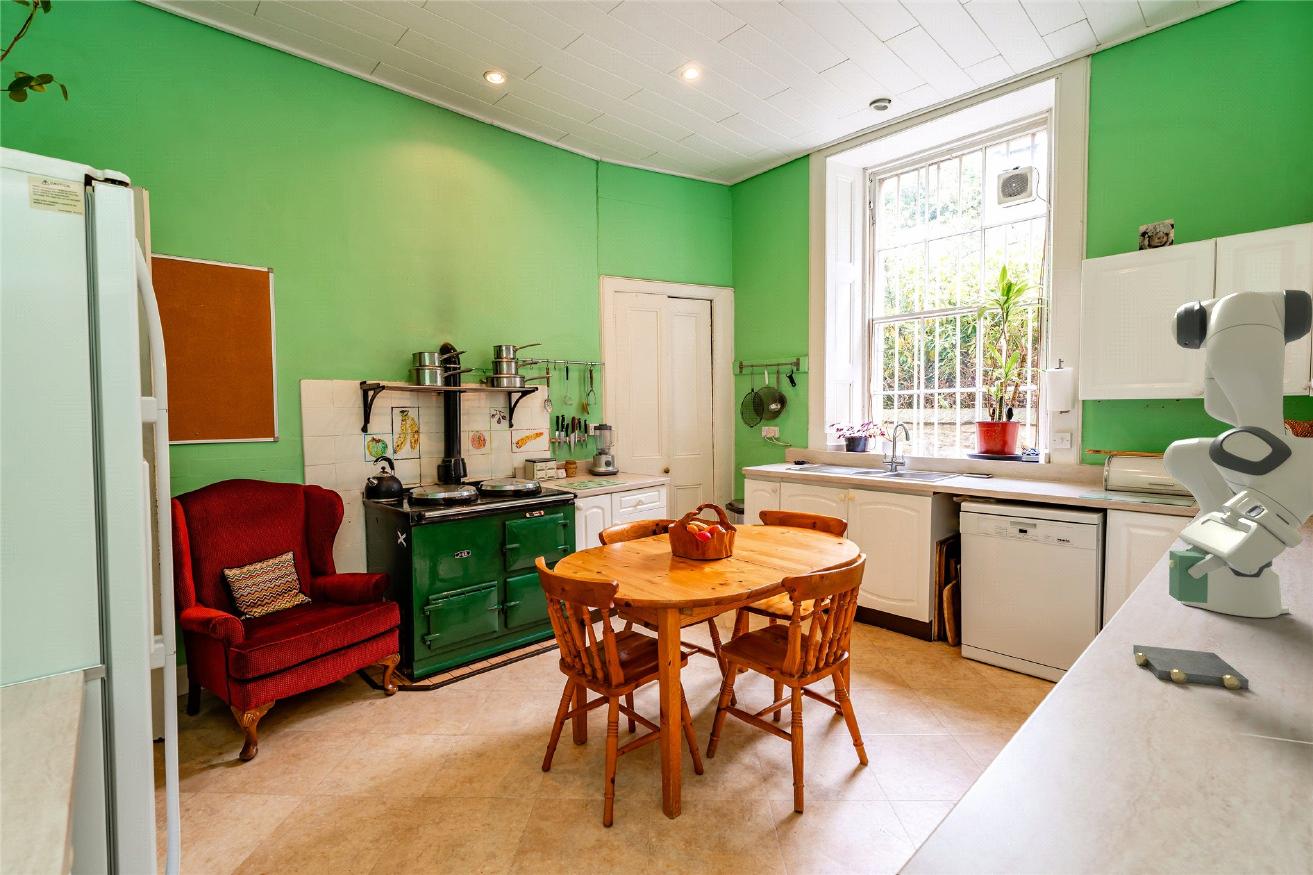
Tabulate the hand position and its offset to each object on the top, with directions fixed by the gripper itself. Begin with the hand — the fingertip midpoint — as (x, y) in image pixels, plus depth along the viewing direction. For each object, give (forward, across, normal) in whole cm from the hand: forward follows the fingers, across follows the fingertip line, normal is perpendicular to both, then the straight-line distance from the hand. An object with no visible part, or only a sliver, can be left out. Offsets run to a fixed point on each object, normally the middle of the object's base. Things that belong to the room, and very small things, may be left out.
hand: (1183, 570), depth 108 cm
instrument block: (+3, 0, +4) cm, 5 cm away
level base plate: (+12, 0, +13) cm, 18 cm away
